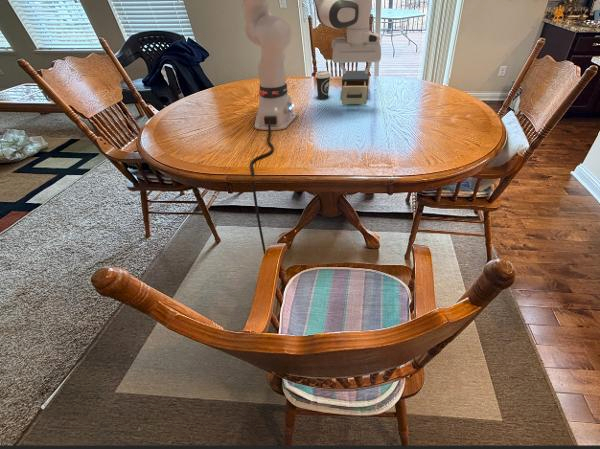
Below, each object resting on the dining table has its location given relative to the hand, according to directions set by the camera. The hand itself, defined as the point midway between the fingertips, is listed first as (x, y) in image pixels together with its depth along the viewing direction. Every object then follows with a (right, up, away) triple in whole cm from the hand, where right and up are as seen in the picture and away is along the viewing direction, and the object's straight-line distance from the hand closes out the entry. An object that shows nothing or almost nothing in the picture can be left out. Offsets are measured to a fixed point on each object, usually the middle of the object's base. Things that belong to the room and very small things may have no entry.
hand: (355, 73), depth 131 cm
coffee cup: (-12, 0, +26) cm, 28 cm away
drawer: (+3, -5, +17) cm, 18 cm away
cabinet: (+4, +2, +26) cm, 27 cm away
